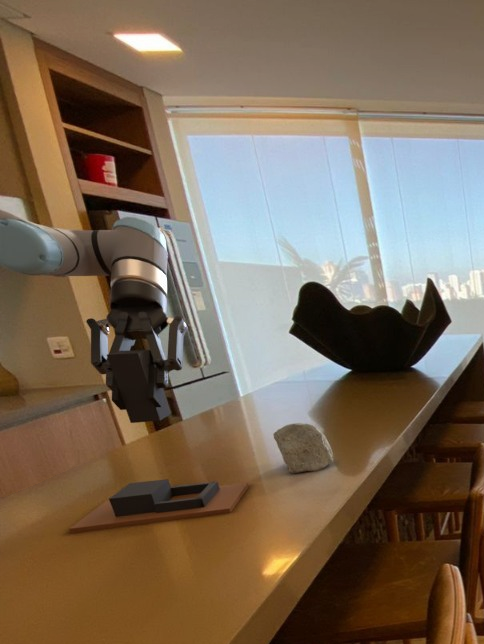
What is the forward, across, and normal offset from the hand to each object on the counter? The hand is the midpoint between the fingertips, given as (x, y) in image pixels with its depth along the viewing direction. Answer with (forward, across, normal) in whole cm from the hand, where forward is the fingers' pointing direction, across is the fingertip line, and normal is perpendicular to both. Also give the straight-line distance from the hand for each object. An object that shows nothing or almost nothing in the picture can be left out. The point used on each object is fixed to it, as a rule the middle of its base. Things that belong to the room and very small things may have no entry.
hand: (137, 403), depth 92 cm
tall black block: (0, 0, -5) cm, 5 cm away
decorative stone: (+5, -21, -19) cm, 28 cm away
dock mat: (+17, -2, -6) cm, 18 cm away
